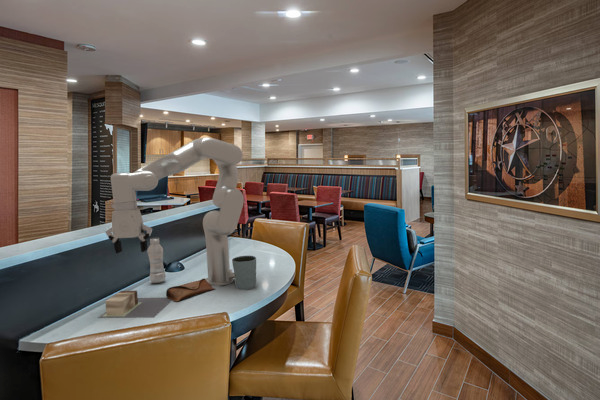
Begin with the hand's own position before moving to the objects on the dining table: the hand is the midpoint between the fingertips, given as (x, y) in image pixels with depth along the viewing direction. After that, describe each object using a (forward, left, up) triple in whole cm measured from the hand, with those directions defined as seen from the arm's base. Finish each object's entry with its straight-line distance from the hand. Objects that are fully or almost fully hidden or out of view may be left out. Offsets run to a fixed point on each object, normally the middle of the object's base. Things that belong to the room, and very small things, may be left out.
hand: (131, 251), depth 132 cm
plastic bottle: (+3, -24, -21) cm, 32 cm away
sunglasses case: (-18, -9, -20) cm, 29 cm away
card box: (+2, +6, -20) cm, 21 cm away
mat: (-3, +4, -20) cm, 21 cm away
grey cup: (-38, -18, -21) cm, 47 cm away
